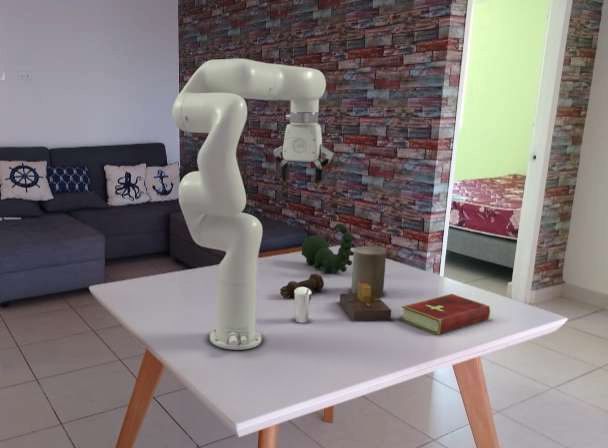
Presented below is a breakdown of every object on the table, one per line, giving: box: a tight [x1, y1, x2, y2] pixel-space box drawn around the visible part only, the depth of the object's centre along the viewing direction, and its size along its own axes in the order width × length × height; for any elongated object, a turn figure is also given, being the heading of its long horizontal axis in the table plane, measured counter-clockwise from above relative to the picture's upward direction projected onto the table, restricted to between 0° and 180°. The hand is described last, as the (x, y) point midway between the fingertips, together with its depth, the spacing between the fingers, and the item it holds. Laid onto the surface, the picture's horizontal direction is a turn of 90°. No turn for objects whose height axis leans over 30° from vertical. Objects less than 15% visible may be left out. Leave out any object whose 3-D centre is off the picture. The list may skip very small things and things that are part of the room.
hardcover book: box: [400, 293, 491, 336], centre depth 152 cm, size 12×21×4 cm, turn 121°
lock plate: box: [339, 292, 392, 322], centre depth 158 cm, size 14×10×3 cm
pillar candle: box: [350, 245, 387, 298], centre depth 172 cm, size 10×10×15 cm
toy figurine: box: [301, 223, 356, 274], centre depth 197 cm, size 9×19×25 cm
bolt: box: [279, 273, 325, 298], centre depth 171 cm, size 6×5×15 cm
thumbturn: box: [358, 281, 371, 303], centre depth 158 cm, size 5×2×5 cm, turn 3°
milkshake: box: [294, 287, 313, 324], centre depth 149 cm, size 4×5×10 cm
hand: (301, 181), depth 157 cm, fingers open, 9 cm apart
